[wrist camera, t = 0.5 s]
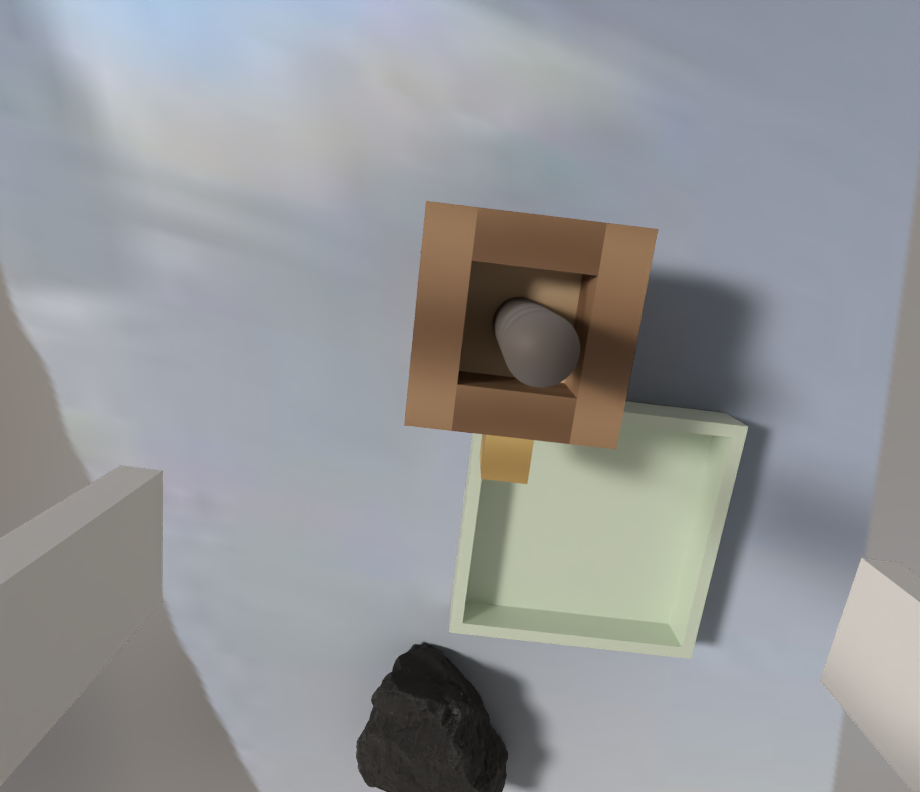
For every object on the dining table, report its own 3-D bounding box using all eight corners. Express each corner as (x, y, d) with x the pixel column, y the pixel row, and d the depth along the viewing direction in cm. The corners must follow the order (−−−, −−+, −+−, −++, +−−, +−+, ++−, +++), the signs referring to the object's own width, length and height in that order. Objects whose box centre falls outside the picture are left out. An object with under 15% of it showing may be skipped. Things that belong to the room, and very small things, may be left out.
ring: (430, 208, 24) (426, 201, 22) (635, 232, 25) (658, 229, 22) (407, 447, 27) (399, 469, 24) (592, 468, 27) (607, 493, 24)
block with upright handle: (463, 240, 31) (460, 224, 17) (572, 254, 31) (657, 248, 17) (448, 367, 32) (436, 444, 19) (552, 379, 32) (615, 465, 19)
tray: (478, 384, 32) (479, 395, 30) (724, 412, 33) (748, 426, 30) (450, 604, 36) (449, 632, 33) (674, 628, 36) (691, 658, 33)
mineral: (539, 670, 37) (551, 745, 31) (495, 775, 39) (498, 863, 33) (390, 627, 36) (375, 695, 31) (354, 736, 38) (333, 818, 33)
